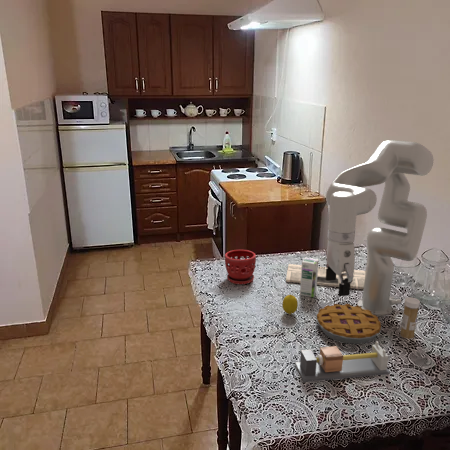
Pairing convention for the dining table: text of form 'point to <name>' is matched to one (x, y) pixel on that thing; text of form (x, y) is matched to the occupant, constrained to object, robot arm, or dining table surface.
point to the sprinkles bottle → (409, 317)
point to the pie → (348, 323)
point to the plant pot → (240, 266)
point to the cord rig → (344, 365)
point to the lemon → (290, 304)
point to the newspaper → (295, 277)
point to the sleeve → (331, 358)
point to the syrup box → (309, 277)
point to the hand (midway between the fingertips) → (337, 287)
